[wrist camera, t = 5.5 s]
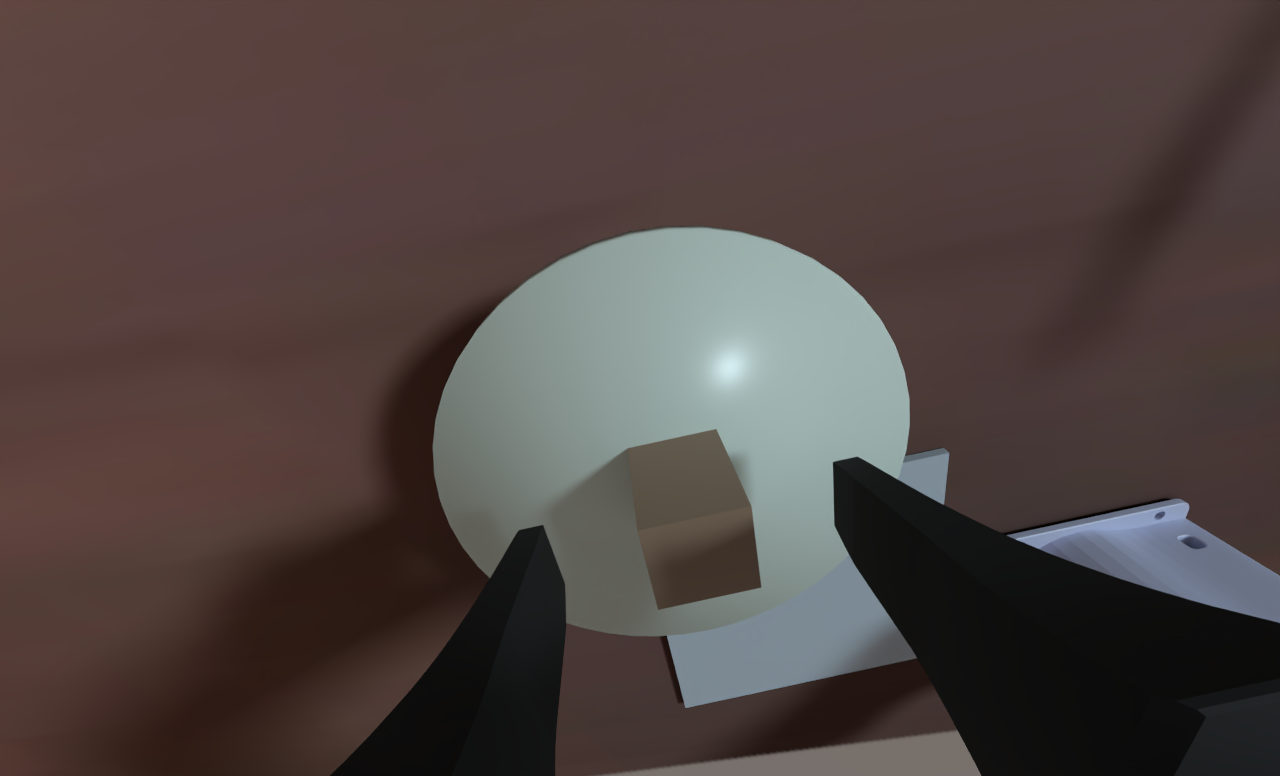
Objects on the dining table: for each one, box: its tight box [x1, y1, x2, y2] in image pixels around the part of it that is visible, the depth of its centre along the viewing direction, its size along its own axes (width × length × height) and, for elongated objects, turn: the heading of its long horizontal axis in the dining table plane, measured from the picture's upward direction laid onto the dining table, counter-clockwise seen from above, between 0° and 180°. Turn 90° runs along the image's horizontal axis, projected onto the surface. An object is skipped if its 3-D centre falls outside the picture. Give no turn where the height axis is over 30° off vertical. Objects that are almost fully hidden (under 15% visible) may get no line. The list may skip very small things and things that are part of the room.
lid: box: [433, 225, 910, 636], centre depth 13 cm, size 14×14×4 cm
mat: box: [667, 448, 949, 708], centre depth 24 cm, size 14×14×1 cm
